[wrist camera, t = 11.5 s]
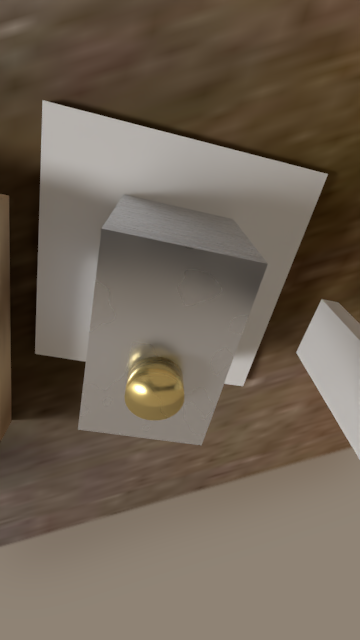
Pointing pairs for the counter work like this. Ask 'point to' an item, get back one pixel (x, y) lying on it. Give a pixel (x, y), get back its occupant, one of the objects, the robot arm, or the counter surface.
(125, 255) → the white knobbed box
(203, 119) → the counter surface
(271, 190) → the felt mat
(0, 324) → the body
